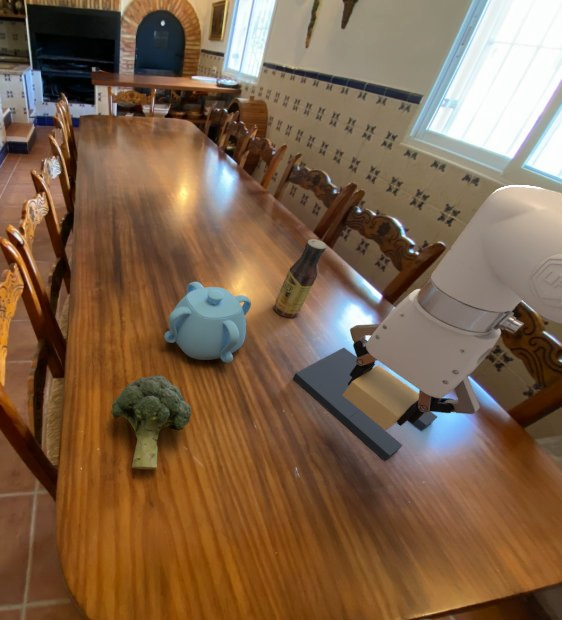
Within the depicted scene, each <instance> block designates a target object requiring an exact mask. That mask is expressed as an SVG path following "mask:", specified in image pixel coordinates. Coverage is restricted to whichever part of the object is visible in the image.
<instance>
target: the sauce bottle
mask: <svg viewBox="0 0 562 620" xmlns="http://www.w3.org/2000/svg"><path fill="white" fill-rule="evenodd" d="M326 250H327V244H326V243H325V242H323V241H321V240H320V239H315V238H312V239H311V238H310V239H309V240H307V241H306V244H305V245H304V249H303V252H302V254H301V255H300V257H299V258H298V259H297V260H296V261H295V262H294V263H293V264H292V265H291V266H290V267H289V269H288V271H287V273H286V276H285V277H284V278H285V279H284V280H283V283H282V285H281V287H280V290H279V292H278V294H277V297H276V299H275V301H274V307H273V308H274V310H275V311H276V313H277V314H278V315H280V316H282V317H285V318H294V317H297V316H298V314H299V313H300V312H301V310H302V308H303V306H304V304H305V302H306V301H307V298H308V296H309V295H310V292H311V290H312V288H313V286H314V285H315V281H316V280H317V278H318V276H319V265H318V264H319V262H320V259H321V258H322V255H323V253H325V251H326Z"/></svg>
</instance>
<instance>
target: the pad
mask: <svg viewBox="0 0 562 620" xmlns="http://www.w3.org/2000/svg"><path fill="white" fill-rule="evenodd" d="M343 396H344V397H345V398H346V399H348V400H349V401H350V402H351V403H352V404H354V405H355V406H356V407H357V408H358V409H360V410H361V411H362V412H363V413H365V414H366V415H367V416H368V417H369V418H371V419H372V420H373V421H374V422H376V423H377V424H378V425H379V426H380V427H382V428H383V429H384V430H385V431H386V432H387V431H388V430H389V429H390V428H392V427H393V426H394V425H395V424H397V422H396V421H397V420H398V419H399V418H400V417H401V416H402V415H403V414H404V413H405V412H406V410H407V409H408V408H409V407H410V406H411V405H412V404H414V403H415V402H416V401H417V400H419V392H417V391H416V390H415V389H413V388H412V387H410V386H409V385H408V384H406V383H404V382H403V381H402V380H401V379H399V378H397V376H395V375H394V374H392V373H391V372H389V371H388V370H387V369H385V368H383V366H381V365H379V364H377V365H374V367H373V368H372V369H371V370H370V371H368V372H366V373H365V374H363V375H362V376H360V377H358V378H357V379H355V380H354V381H352V382H351V384H350V385H349V387H348V388H347V389H346V391H345V392H344V394H343Z"/></svg>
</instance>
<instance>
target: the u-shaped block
mask: <svg viewBox="0 0 562 620" xmlns="http://www.w3.org/2000/svg"><path fill="white" fill-rule="evenodd" d="M356 359H357V356H356V354H353V352H351V351H350V350H348V349H347V348H346V347H342V348H340V349H338V350H336V351H335V352H334V351H333V352H332V353H331V354H329V355H327V356H325V357H323V358H320V360H317V361H315V362H314V363H312V364H310V365H308V366H306V367H304V368H302V369H300V370H299V371H296V372H295V373H294V375H293V376H292V379H293V380H294V381H295V382H296V383H297V384H298V385H299V386H300V387H301V388H302V389H303V390H305V391H306V392H307V393H308V394H309V395H310V396H311V397H313V398H314V400H316V401H317V402H318V403H319V404H320V405H321V406H322V407H324V409H326V410H327V411H328V412H329V413H330V414H332V415H333V417H335V418H336V419H337V420H338V421H339V422H340V423H341V424H342V425H344V426H345V427H346V428H347V429H348V430H350V432H352V433H353V434H354V435H355V436H356V437H357V438H358V439H359V440H360V441H362V442H363V443H364V444H365V445H366V446H367V447H368V448H370V449H371V450H372V452H374V454H376V455H377V456H378V457H379V458H381V459H382V460H383V461H384V462H385V461H387V460H388V459H389V458H390V457H392V456H393V455H394V454H396V453H397V452H398V451H399V450H400V449H401V448H402V447H403V446H404V445H403V444H402V443H401V442H400V441H398V440H397V439H396V438H395V437H394V436H393V435H392V434H390V433H389V432H387V430H386V431H385V430H384V429H383V428H382V427H380V426H379V425H378V424H377V423H376V422H374V421H373V420H372V419H371V418H369V417H368V416H367V415H366V414H365V413H363V412H362V411H361V410H360V409H358V408H357V407H356V406H355V405H354V404H352V403H351V402H350V401H349V400H348V399H346V398H345V397H344V396H343V394H344V392H345V391H346V389H347V388H348V387H349V385H348V383H349V381H350V380H351V379H352V377H351V376H350V373H351V372H352V370H353V369H354V367H355V366H356V364H357V363H356ZM436 419H438V415H436V414H435V413H434V412H431V411H429V412H428V413H424V414H423V415H422V416H421V417H420V418H419V419H418V420H417V421H416V422H414V423H413V424H412V423H411V422H409V423H410V424H412V426H414V427H415V428H417V430H419V431H420V432H422V431H423V430H425V429H426V428H427V427H428V426H430V425H431V424H432V423H433V422H434V421H435V420H436Z"/></svg>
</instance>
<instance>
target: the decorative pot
mask: <svg viewBox="0 0 562 620" xmlns="http://www.w3.org/2000/svg"><path fill="white" fill-rule="evenodd" d="M241 303H243V304H241ZM251 307H252V302H251V300H250V298H249V297H248V296H246V295H243V294H239V295H235V296H234V295H233V294H232V293H231V292H230V291H228V290H227V289H226V288H223V287H220V286H210V287H209V286H207V287H206V286H205V287H204V286H203V285H202V284H201V282H199V281H192V282H190V283H188V284H187V287H186V295H184V296H183V297H182V299H181V300H179V302H178V303H177V304H176V306H175V307H174V309H173V310H172V311H171V312H170V314H169V316H168V327H169V330H168V331H166V332H165V333H164V336H163V337H164V340H165V342H166V343H169V344H173V343H176V345H177V346H178V347H179V349H181V351H182V352H183V353H184V354H185V355H186V356H187V357H189V358H191V359H194V360H198V361H200V360H201V361H210V360H212V361H213V360H219V359H220V360H221V361H222V362H223V363H225V364H230V363H232V361H233V360H234V356H233V353H235V352H236V351H238V350H239V349H240V348H241V347H242V346H243V345H244V343H245V340H246V335H247V334H246V333H247V318H246V315H247V314H248V313H249V311H250V309H251Z"/></svg>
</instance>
